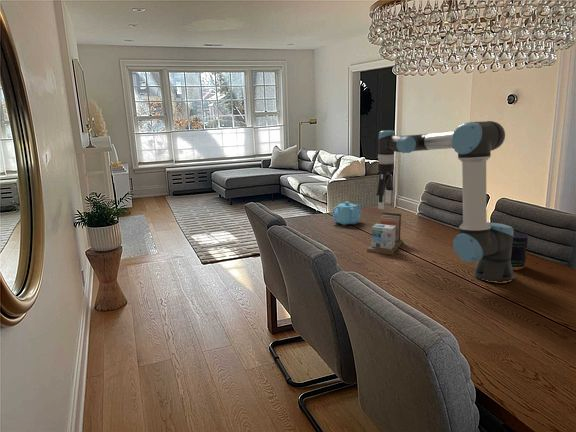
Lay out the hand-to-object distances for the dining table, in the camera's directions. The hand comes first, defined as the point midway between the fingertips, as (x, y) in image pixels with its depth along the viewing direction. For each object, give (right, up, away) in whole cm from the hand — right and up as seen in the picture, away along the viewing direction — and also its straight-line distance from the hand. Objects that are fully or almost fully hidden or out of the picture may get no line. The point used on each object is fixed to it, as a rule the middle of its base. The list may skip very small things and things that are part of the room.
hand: (384, 205), depth 220 cm
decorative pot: (-11, -10, +57) cm, 59 cm away
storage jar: (+53, -28, -21) cm, 63 cm away
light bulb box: (0, -21, +5) cm, 21 cm away
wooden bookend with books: (+3, -21, +10) cm, 23 cm away
